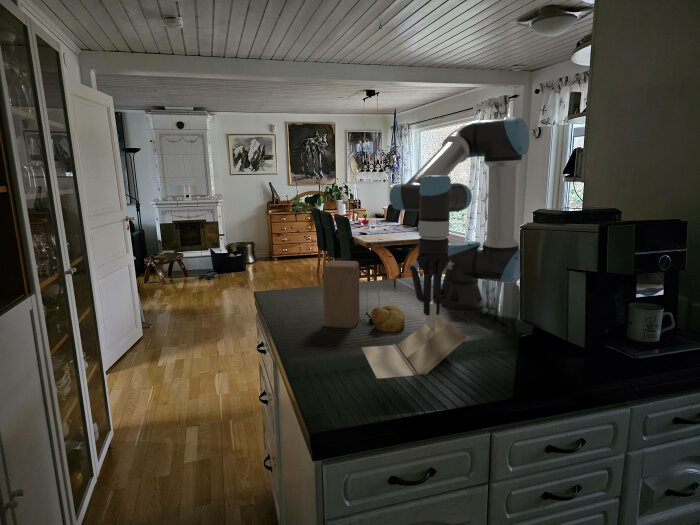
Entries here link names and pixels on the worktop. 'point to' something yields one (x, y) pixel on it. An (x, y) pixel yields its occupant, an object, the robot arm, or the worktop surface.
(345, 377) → the worktop surface
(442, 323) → the far plank
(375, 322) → the bread roll
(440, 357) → the near plank
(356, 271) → the wooden block
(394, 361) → the laid board
